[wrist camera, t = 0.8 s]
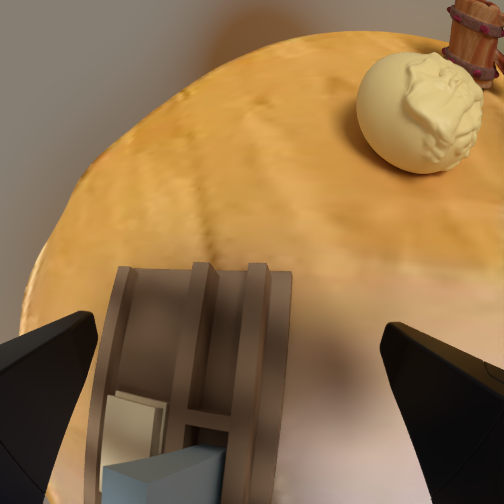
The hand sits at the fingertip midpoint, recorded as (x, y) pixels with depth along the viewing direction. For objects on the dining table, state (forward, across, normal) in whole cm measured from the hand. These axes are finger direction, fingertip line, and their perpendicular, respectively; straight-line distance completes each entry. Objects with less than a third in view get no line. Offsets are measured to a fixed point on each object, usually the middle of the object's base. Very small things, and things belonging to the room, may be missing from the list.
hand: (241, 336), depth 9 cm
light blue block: (+3, +1, +16) cm, 16 cm away
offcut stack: (+5, +7, +16) cm, 18 cm away
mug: (+27, -34, -20) cm, 48 cm away
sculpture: (+21, -17, -7) cm, 28 cm away
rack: (+8, +3, +13) cm, 15 cm away
